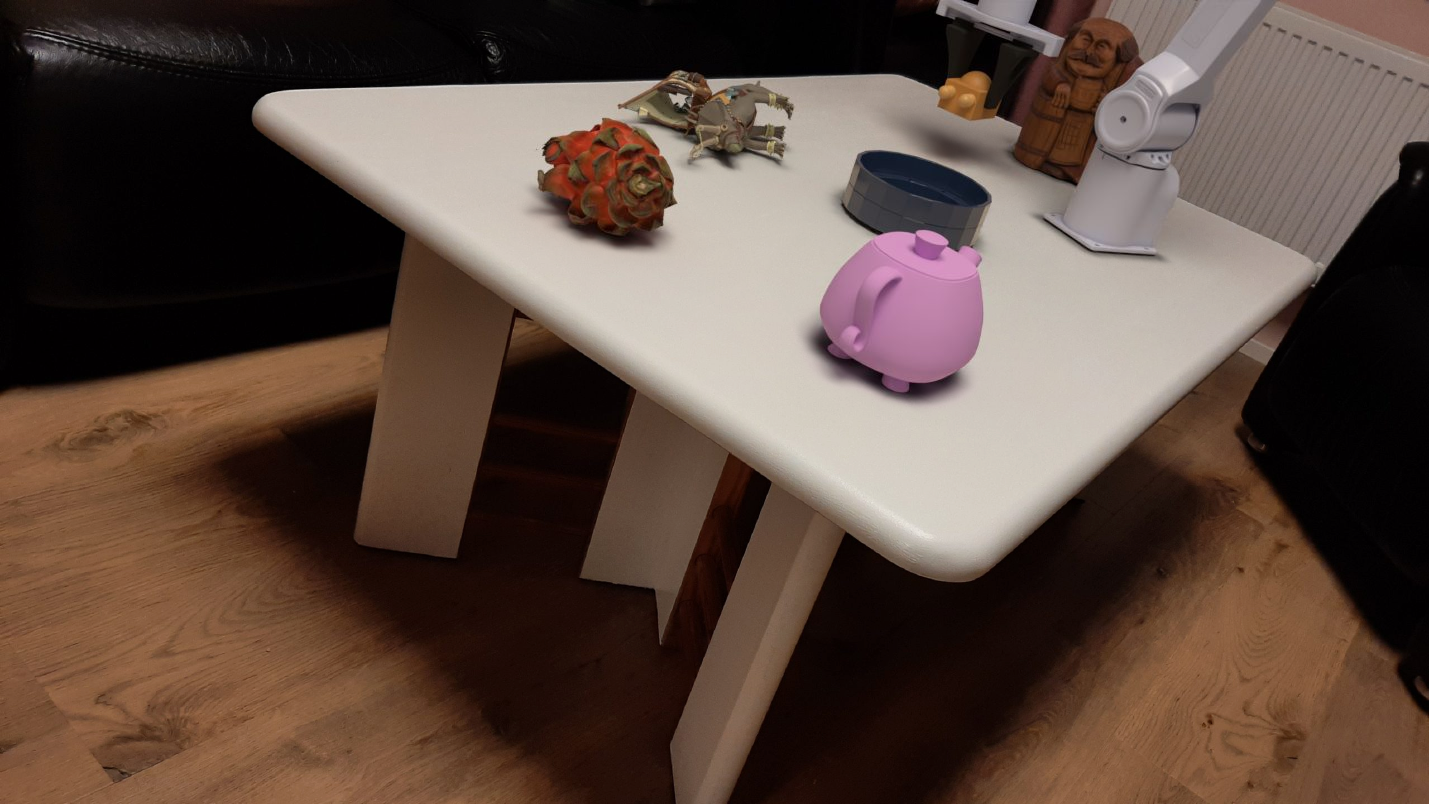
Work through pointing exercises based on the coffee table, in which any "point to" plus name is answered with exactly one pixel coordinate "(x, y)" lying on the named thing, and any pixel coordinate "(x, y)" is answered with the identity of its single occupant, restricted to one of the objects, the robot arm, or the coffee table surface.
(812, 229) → the coffee table surface
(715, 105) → the figurine
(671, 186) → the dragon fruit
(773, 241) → the coffee table surface
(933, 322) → the teapot
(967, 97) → the orange toy brick
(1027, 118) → the wooden figurine
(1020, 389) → the coffee table surface
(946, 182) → the bowl
